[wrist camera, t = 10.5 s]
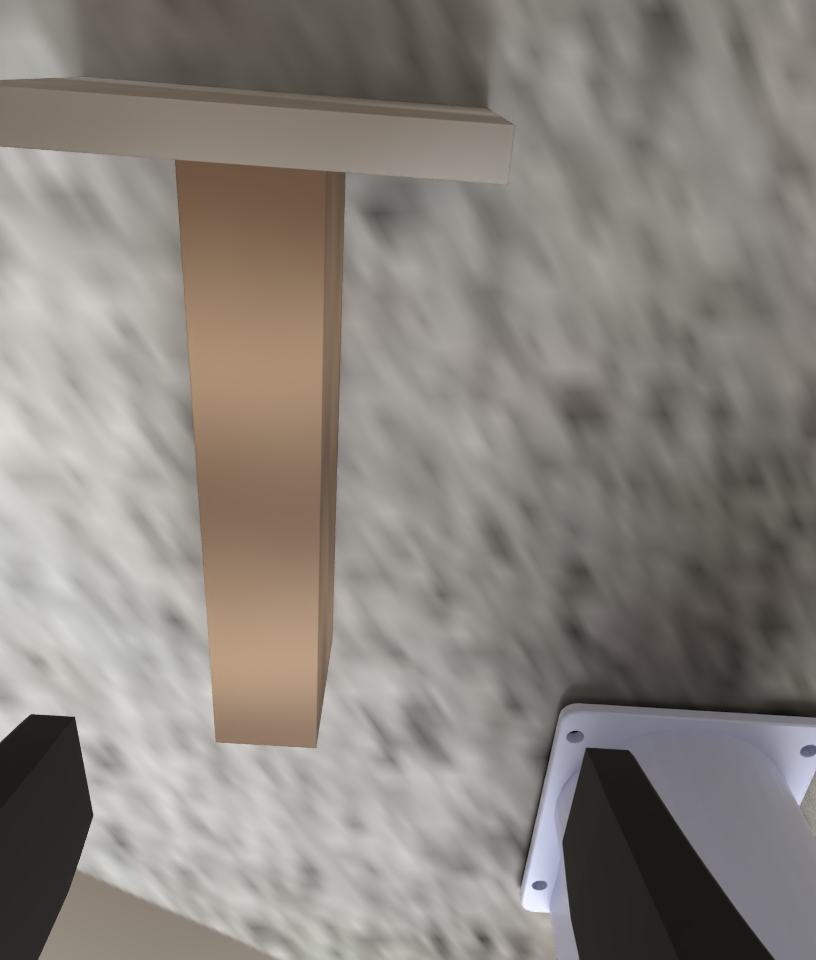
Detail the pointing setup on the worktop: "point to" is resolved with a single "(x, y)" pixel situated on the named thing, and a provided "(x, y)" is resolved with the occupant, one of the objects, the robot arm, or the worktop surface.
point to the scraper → (262, 336)
